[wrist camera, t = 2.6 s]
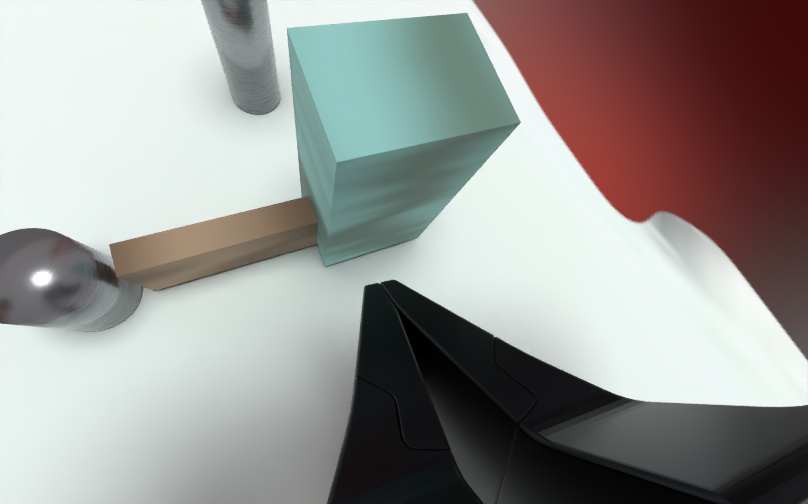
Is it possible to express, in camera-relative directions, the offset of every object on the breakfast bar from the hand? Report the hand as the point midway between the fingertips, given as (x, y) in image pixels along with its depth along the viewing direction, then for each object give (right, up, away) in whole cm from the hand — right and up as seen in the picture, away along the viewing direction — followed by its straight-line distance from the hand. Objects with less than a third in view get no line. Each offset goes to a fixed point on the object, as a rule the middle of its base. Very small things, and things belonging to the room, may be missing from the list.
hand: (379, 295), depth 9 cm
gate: (-5, +2, +7) cm, 9 cm away
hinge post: (-12, -1, +5) cm, 13 cm away
